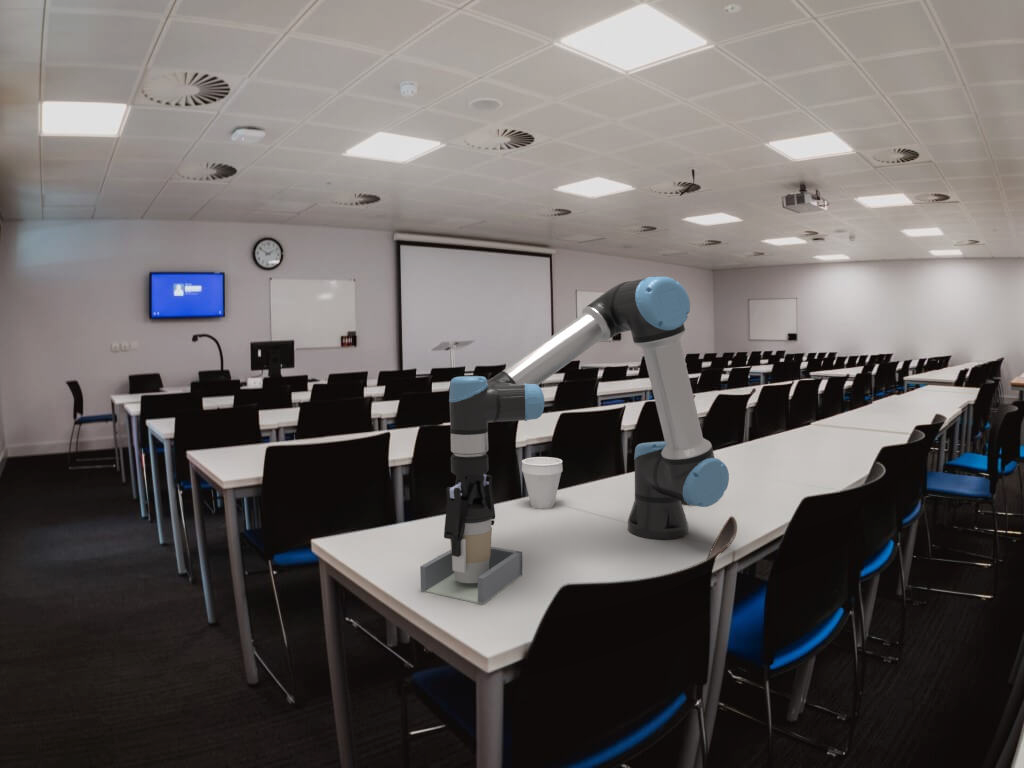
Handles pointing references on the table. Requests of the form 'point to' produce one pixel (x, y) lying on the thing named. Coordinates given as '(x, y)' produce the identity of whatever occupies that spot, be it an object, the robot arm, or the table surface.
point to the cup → (542, 480)
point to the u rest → (499, 576)
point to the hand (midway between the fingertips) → (471, 563)
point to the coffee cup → (476, 543)
